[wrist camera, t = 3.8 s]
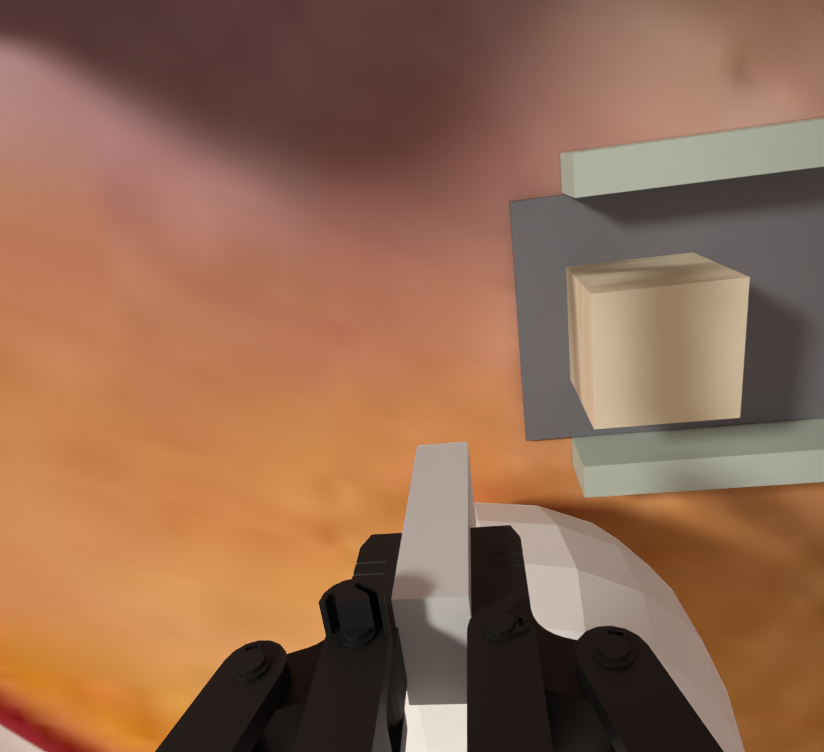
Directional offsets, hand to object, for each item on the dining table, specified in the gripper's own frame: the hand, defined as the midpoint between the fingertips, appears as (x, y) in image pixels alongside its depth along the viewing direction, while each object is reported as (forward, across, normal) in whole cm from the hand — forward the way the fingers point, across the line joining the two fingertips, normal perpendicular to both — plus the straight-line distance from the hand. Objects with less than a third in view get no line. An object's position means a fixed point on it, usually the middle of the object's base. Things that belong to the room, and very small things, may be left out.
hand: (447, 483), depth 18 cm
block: (+14, +9, 0) cm, 17 cm away
